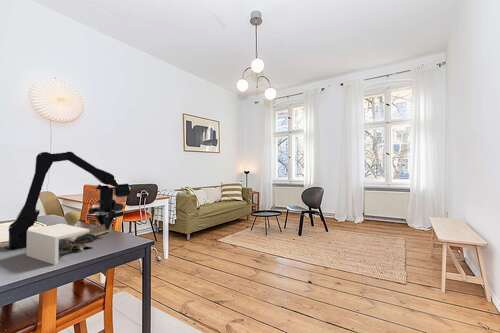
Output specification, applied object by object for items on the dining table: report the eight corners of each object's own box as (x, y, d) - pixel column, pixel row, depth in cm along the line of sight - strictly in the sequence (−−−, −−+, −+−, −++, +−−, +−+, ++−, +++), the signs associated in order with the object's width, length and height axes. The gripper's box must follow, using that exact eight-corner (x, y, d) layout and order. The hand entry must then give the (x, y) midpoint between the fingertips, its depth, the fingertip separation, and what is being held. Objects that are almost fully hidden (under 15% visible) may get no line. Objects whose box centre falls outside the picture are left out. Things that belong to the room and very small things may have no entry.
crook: (56, 246, 101) (56, 238, 101) (108, 229, 123) (107, 223, 123) (72, 249, 98) (72, 241, 97) (122, 232, 120) (122, 225, 120)
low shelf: (26, 255, 91) (26, 230, 91) (60, 246, 101) (61, 223, 101) (54, 264, 83) (55, 237, 83) (88, 253, 94) (89, 229, 94)
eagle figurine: (77, 253, 91) (100, 242, 99) (67, 237, 92) (91, 227, 100) (68, 260, 95) (91, 249, 103) (60, 244, 95) (83, 234, 103)
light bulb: (71, 232, 120) (72, 212, 120) (61, 231, 121) (61, 211, 121) (83, 229, 126) (83, 210, 126) (72, 228, 128) (73, 209, 128)
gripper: (133, 197, 124) (132, 228, 124) (108, 194, 132) (108, 223, 132) (113, 200, 114) (112, 233, 114) (87, 197, 122) (87, 228, 122)
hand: (105, 229), depth 121 cm, fingers closed on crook, 3 cm apart
